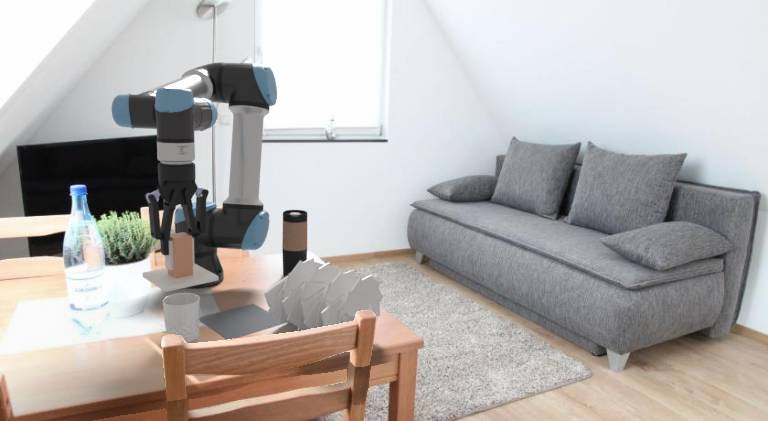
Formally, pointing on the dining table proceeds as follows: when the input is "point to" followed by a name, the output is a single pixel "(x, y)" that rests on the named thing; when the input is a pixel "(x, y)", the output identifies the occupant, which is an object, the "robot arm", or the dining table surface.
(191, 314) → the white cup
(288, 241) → the travel mug
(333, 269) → the spiral staircase
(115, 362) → the dining table surface
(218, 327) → the mat
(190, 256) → the lid
